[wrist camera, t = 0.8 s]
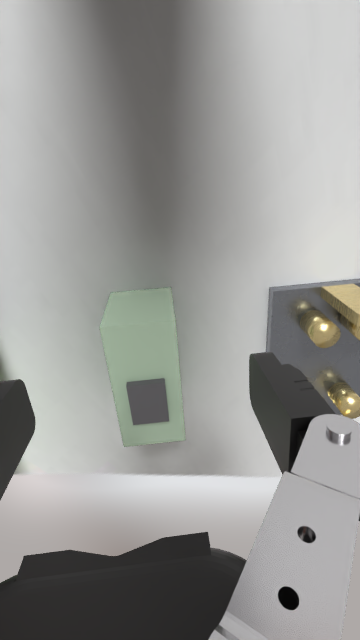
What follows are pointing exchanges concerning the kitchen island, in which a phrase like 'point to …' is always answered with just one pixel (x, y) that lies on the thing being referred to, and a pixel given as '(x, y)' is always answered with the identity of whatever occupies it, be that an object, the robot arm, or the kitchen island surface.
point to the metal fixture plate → (320, 338)
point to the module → (144, 365)
